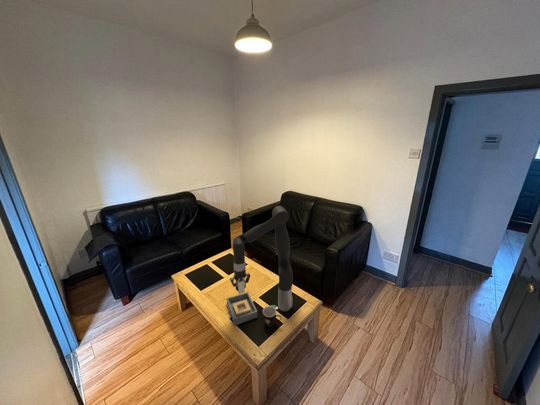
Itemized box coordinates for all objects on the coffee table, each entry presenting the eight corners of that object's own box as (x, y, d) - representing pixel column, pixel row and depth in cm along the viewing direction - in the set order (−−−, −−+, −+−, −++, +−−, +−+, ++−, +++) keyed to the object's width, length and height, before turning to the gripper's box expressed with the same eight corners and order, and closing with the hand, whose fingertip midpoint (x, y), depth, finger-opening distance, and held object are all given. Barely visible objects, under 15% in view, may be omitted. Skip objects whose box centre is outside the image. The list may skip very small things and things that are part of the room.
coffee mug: (260, 323, 143) (260, 311, 139) (269, 315, 148) (269, 304, 145) (272, 334, 135) (272, 322, 131) (282, 326, 140) (282, 314, 137)
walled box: (248, 297, 164) (247, 291, 162) (257, 317, 147) (257, 311, 145) (227, 303, 158) (226, 298, 156) (234, 325, 141) (234, 319, 139)
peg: (242, 288, 148) (242, 277, 145) (244, 292, 145) (244, 281, 142) (237, 290, 147) (236, 279, 144) (238, 294, 143) (238, 282, 140)
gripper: (248, 261, 145) (248, 282, 151) (227, 266, 140) (228, 288, 145) (252, 267, 139) (252, 289, 145) (230, 273, 133) (231, 296, 139)
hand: (240, 289), depth 145 cm, fingers closed on peg, 4 cm apart
